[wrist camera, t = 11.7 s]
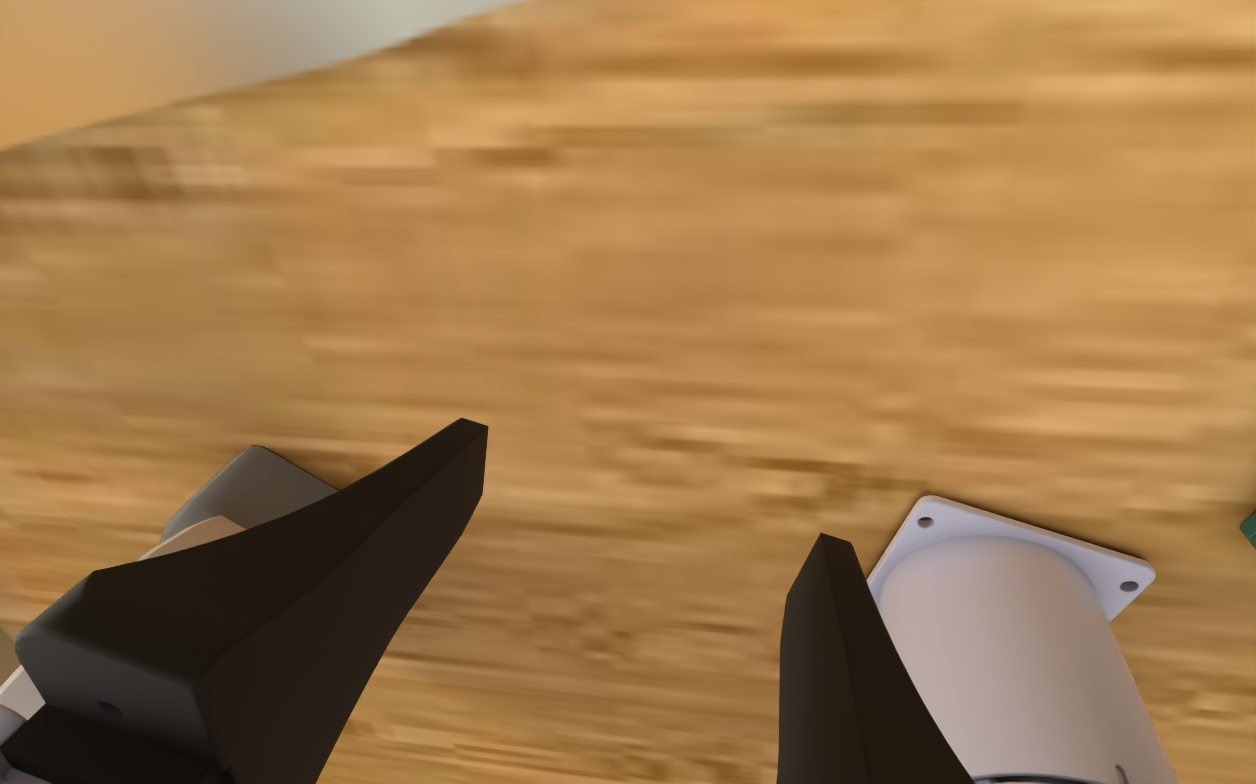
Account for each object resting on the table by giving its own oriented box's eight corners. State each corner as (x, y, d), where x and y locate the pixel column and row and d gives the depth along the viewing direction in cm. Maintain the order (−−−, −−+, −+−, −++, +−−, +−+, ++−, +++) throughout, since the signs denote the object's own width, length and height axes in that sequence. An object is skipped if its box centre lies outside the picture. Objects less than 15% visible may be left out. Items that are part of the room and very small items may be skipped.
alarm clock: (230, 399, 29) (-378, 845, 14) (428, 515, 30) (50, 1043, 15) (196, 578, 39) (-195, 960, 24) (348, 662, 39) (64, 1080, 25)
